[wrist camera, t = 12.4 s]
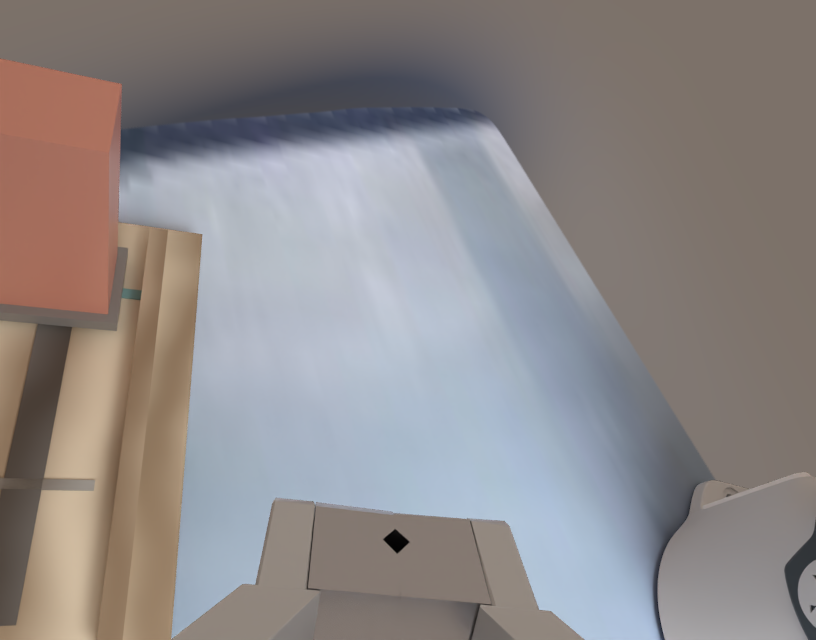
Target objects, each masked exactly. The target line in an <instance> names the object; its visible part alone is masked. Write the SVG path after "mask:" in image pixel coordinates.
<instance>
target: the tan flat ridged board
mask: <svg viewBox="0 0 816 640" xmlns="http://www.w3.org/2000/svg"><path fill="white" fill-rule="evenodd" d="M201 244H202V234H196V233H189V232H182V231H176V230H169V229H162V228H155V227H148V226H141V225H134V224H127V223H120V222H118V247H124V248H128V259H127V265H126V272H125V279H124V286H123V292H122V299H121V306H120V313H119V320H118V326H117V331H110V330H99V329H88V328H78V327H67V326H56V325H45V324H34V323H24V322H13V321H2V320H0V640H171V632H172V619H173V606H174V593H175V581H176V568H177V555H178V542H179V529H180V516H181V503H182V490H183V477H184V464H185V451H186V438H187V425H188V412H189V399H190V387H191V374H192V361H193V348H194V335H195V322H196V309H197V296H198V283H199V270H200V257H201Z"/></svg>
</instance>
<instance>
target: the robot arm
mask: <svg viewBox="0 0 816 640" xmlns="http://www.w3.org/2000/svg"><path fill="white" fill-rule="evenodd" d="M658 608H659V615H660V621H661V626H662V630H663V634H664V638H665V640H816V476H815V477H812V476H811V475H810V474H809V473H807V472H801V473H795V474H792V475H789V476H786V477H783V478H780V479H777V480H774V481H771V482H768V483H766V484H763V485H760V486H757V487H754V488H751V489H748V488H744V487H740V486H737V485H733V484H729V483H725V482H721V481H717V480H710V481H706V482H703V483H700V484H698V485H697V486H696V488H695V490H694V493H693V497H692V501H691V506H690V511H689V515H688V517H687V519H686V521H685V522H684V523H683V524H682V526H681V527H680V528H679V529H678V530H677V531H676V532H675V534H674V535H673V536H672V538H671V539H670V541H669V543H668V544H667V547H666V549H665V551H664V554H663V556H662V560H661V564H660V569H659V575H658ZM171 640H584V639H583V638H582V637H581V636H579V635H578V634H577V633H576V632H575V631H574V630H572V629H571V628H570V627H569V626H568V625H566V624H565V623H564V622H563V621H562V620H561V619H559V618H558V617H557V616H556V615H555V614H553V613H552V612H551V611H544V610H539V608H538V605H537V603H536V600H535V597H534V594H533V591H532V588H531V586H530V583H529V580H528V577H527V574H526V571H525V569H524V566H523V563H522V560H521V557H520V555H519V552H518V549H517V546H516V543H515V540H514V538H513V535H512V532H511V529H510V526H509V525H508V524H507V523H506V522H505V521H498V520H483V519H468V518H467V519H460V518H448V517H436V516H425V515H413V514H401V513H393V512H391V511H383V510H375V509H367V508H359V507H351V506H343V505H335V504H327V503H319V502H316V505H315V504H314V502H313V501H303V500H293V499H283V498H275V500H274V501H273V503H272V508H271V512H270V517H269V522H268V527H267V532H266V536H265V541H264V546H263V551H262V556H261V560H260V565H259V570H258V575H257V579H256V584H255V585H251V584H242V585H241V586H240V587H238V588H237V589H236V590H234V591H233V592H232V593H231V594H229V595H228V596H227V597H225V598H224V599H223V600H221V601H220V602H219V603H218V604H216V605H215V606H214V607H212V608H211V609H210V610H209V611H207V612H206V613H205V614H203V615H202V616H201V617H200V618H198V619H197V620H196V621H194V622H193V623H192V624H190V625H189V626H188V627H187V628H185V629H184V630H183V631H181V632H180V633H179V634H178V635H176V636H175V637H174V638H172V639H171Z"/></svg>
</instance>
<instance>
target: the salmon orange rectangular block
mask: <svg viewBox="0 0 816 640" xmlns="http://www.w3.org/2000/svg"><path fill="white" fill-rule="evenodd" d="M121 94H122V84H119V83H114V82H109V81H104V80H99V79H95V78H90V77H86V76H81V75H76V74H71V73H66V72H62V71H57V70H52V69H47V68H43V67H38V66H33V65H29V64H24V63H19V62H15V61H10V60H5V59H0V320H2V321H13V322H24V323H34V324H45V325H56V326H67V327H78V328H88V329H99V330H110V331H117V326H118V320H119V313H120V306H121V299H122V292H123V286H124V279H125V272H126V265H127V259H128V248H124V247H118V214H119V174H120V134H121Z"/></svg>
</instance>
